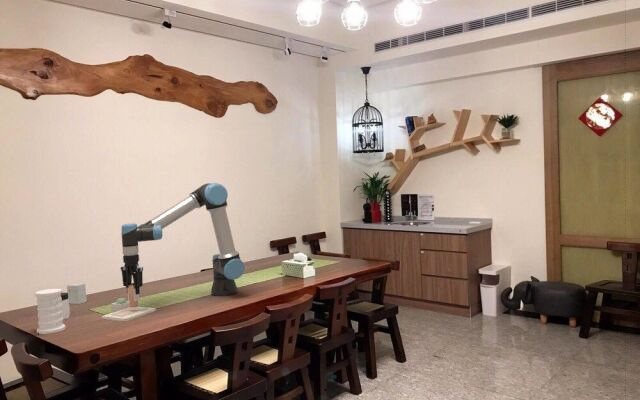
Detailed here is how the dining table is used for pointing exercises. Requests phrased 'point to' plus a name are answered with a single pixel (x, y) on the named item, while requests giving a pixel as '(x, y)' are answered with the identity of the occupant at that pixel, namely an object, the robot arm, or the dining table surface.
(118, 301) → the button
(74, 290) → the small box
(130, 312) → the board
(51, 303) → the decorative container
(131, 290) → the marker
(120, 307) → the button housing
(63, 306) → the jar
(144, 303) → the dining table surface
